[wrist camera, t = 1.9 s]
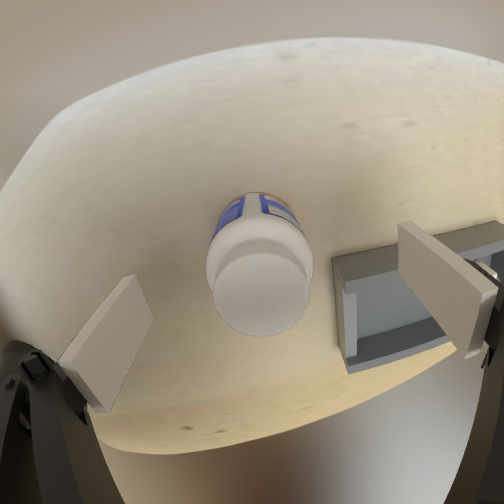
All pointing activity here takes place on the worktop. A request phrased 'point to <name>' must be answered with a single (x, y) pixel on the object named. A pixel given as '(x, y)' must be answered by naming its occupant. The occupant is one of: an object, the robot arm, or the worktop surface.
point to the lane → (397, 299)
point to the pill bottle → (259, 266)
